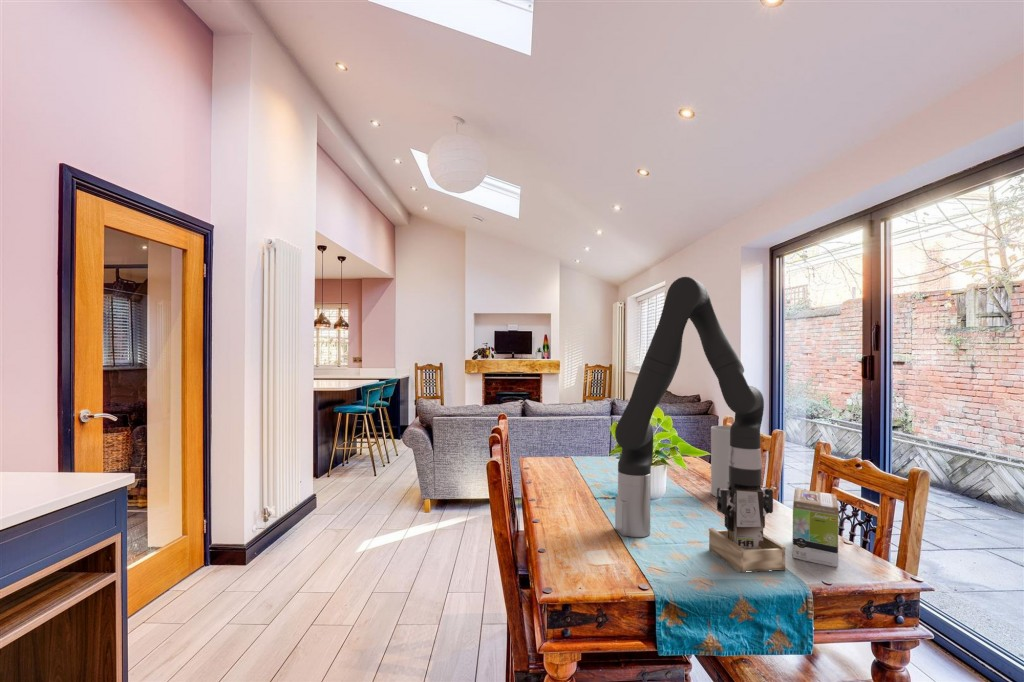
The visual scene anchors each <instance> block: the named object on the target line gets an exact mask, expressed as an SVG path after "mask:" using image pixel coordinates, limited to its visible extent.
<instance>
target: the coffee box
mask: <svg viewBox="0 0 1024 682" xmlns="http://www.w3.org/2000/svg"><path fill="white" fill-rule="evenodd" d="M729 486H730V483H729V482H727V489H728V488H729ZM730 497H731V496H730V494H729V495H728V498H727V502H728V500H729V499H730ZM731 503H733V505H734V515H733V517H734V531H731V532H730V531H729V530H728V539H730V540H731V541H733V542H734V543H736V544H737V545H739V546H740V547H742V548H743V549H744V550H750V549H763V534H764V528H763V491H762V490H760V489H759V488H758V487H745V488H734V497H731Z"/></svg>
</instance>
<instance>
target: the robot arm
mask: <svg viewBox="0 0 1024 682" xmlns="http://www.w3.org/2000/svg"><path fill="white" fill-rule="evenodd" d="M689 320H690V321H691V323H692V324H693V326H694V328H695V330H696V332H697V333H698V336H699V341H700V342H701V346H702V350H703V353H704V355H705V357H706V359H707V361H708V364H709V365H710V367H711V369H712V371H713V373H714V375H715V376H716V378H717V380H718V385H719V388H720V391H721V395H722V397H723V400H724V402H725V404H726V406H727V407H728V408H729V409H730V410H731V411H732V412H733V413H735V414H734V421H733V423H732V424H731V428H730V450H729V483H730V486H729V488H728V489H721V488H718V489H717V497H716V510H717V511H718V512H719V513H721V514H722V515H723V516H724V528H726V530H729V531H730V532H731V531H734V517H733V515H734V505H733V503H731V497H734V488H745V487H758V488H759V489H760V490H762V491H763V529H765V528H766V516H767V515H768V514H772V513H773V512H774V491H773V490H772V489H771V488H768V487H766V486H764V487H761V486H762V483H763V481H762V478H763V477H762V473H763V472H762V470H763V469H762V467H763V466H762V465H763V464H762V463H763V461H762V450H761V427H762V422H763V416H764V410H765V399H764V396H763V393H762V391H761V390H760V389H758V388H757V387H755V386H753V385H749V384H748V382H747V380H746V377H745V375H744V373H745V369H744V368H745V367H744V366H743V363H742V362H741V359H740V358H739V356H738V354H737V352H736V350H735V348H734V347H733V345H732V344H731V343H732V342H730V340H729V338H728V336H727V335H726V333H725V331H724V329H723V328H722V325H721V324H720V321H719V319H718V317H717V314H716V312H715V309H714V307H713V303H712V300H711V297H710V294H709V292H708V289H707V287H706V286H705V285H704V284H703V283H702V282H700V281H699V280H696V279H695V278H693V277H690V276H682V277H678V278H677V279H676V280H674V281H673V282H672V283H671V284H670V286H669V288H668V290H667V292H666V296H665V299H664V303H663V308H662V311H661V315H660V318H659V321H658V324H657V326H656V329H655V331H654V334H653V335H652V339H651V341H650V344H649V347H648V349H647V351H646V353H645V356H644V358H643V360H642V363H641V366H640V370H639V372H638V375H637V377H636V380H635V383H634V387H633V390H632V392H631V396H630V398H629V401H628V403H627V405H626V407H625V409H624V410H623V412H622V415H621V417H620V419H619V420H618V422H617V424H616V427H615V430H614V431H615V432H614V436H615V441H616V443H617V444H618V446H619V447H620V448H621V454H620V457H619V460H618V462H617V495H616V496H615V498H614V499H615V501H614V502H615V506H614V507H615V508H614V509H615V510H614V513H615V514H614V516H615V517H614V518H615V519H614V529H615V530H616V531H617V532H618V533H619V534H621V536H623V537H624V536H628V537H632V538H644V537H647V536H650V534H651V479H652V478H651V475H652V473H651V472H652V471H651V468H652V463H653V457H654V455H653V454H654V429H653V426H652V424H651V419H652V417H653V414H654V411H655V409H656V407H657V406H658V404H659V402H661V400H662V398H663V397H664V395H665V393H666V391H667V390H668V388H669V386H670V385H671V384H672V381H673V379H674V377H675V374H676V371H677V369H678V367H679V364H680V360H681V356H682V355H681V354H682V346H683V345H682V344H683V336H684V331H685V328H686V325H687V323H688V322H689ZM729 494H730V496H731V497H730V499H729V500H728V502H727V498H728V495H729Z"/></svg>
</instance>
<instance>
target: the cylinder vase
mask: <svg viewBox="0 0 1024 682" xmlns="http://www.w3.org/2000/svg"><path fill="white" fill-rule="evenodd" d="M730 428H731V426H730V425H712V426H710V494H711V495H712V496H713V497H714V496H715V497H714V498H717V489H718V488H721V489H727V482H729V450H730Z"/></svg>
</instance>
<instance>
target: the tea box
mask: <svg viewBox="0 0 1024 682" xmlns="http://www.w3.org/2000/svg"><path fill="white" fill-rule="evenodd" d="M793 494H794V496H793V504H792V540H791V541H792V558H793V559H796V560H800V561H803V562H804V561H806V562H808V563H809V562H810V563H815V564H820V565H823V566H829V567H833V568H837V567H838V566H839V527H840V526H839V523H840V522H839V518H840V517H839V516H840V515H839V514H840V513H839V512H840V511H839V505H838V504H839V503H838V497H837V494H835V493H834V494H833V493H827V492H819V491H814V490H806V489H800V488H795V489H794V493H793Z"/></svg>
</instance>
